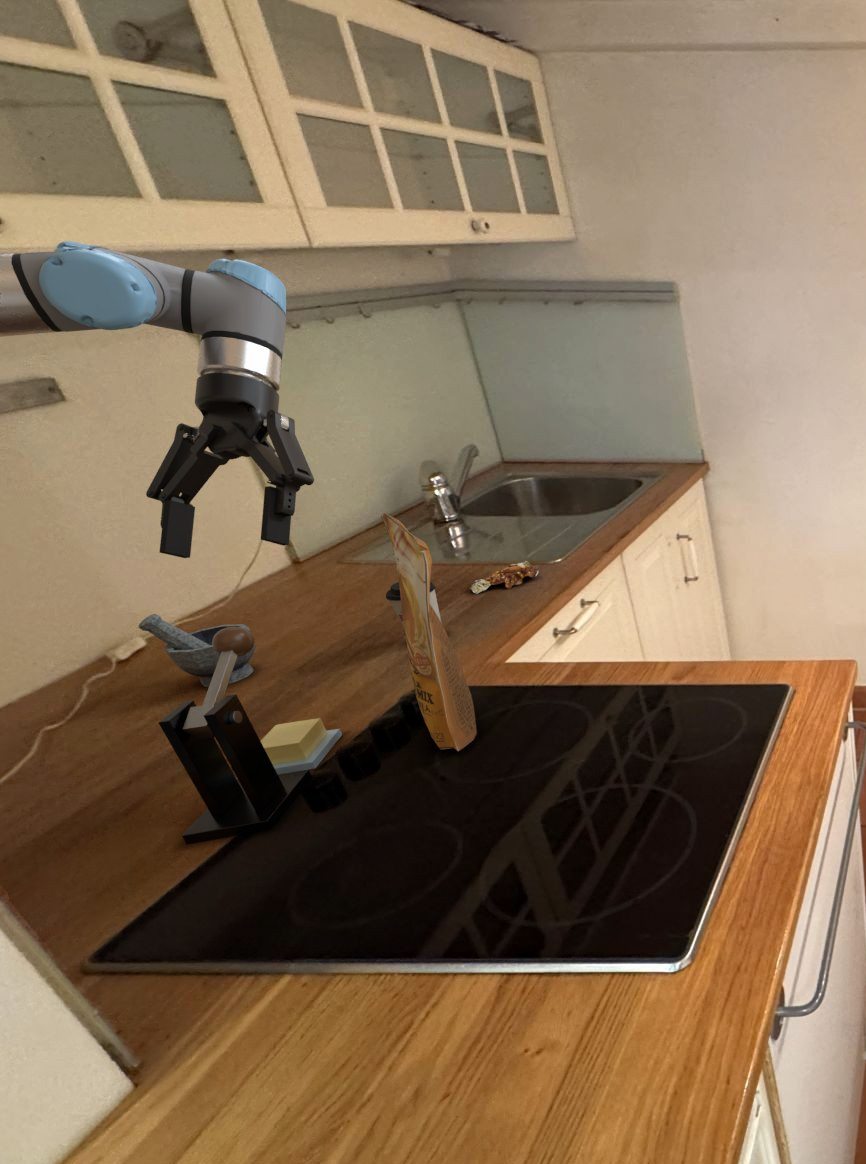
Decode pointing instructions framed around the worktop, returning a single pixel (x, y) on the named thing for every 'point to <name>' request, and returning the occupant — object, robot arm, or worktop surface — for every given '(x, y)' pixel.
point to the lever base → (231, 773)
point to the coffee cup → (395, 600)
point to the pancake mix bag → (430, 646)
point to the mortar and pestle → (196, 649)
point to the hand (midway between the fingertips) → (224, 549)
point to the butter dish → (299, 745)
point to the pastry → (506, 576)
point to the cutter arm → (219, 677)
